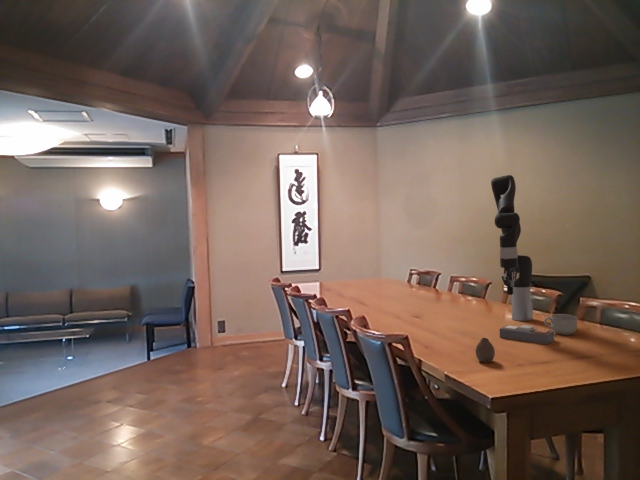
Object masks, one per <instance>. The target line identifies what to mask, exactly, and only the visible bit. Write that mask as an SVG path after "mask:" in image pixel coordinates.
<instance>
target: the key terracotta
mask: <svg viewBox="0 0 640 480" xmlns="http://www.w3.org/2000/svg"><path fill="white" fill-rule="evenodd" d="M537 329H538V328H537ZM549 331H550V330H546V329H538V330H536V331H534V333H541V334H547V333H549Z"/></svg>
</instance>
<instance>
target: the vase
mask: <svg viewBox="0 0 640 480" xmlns="http://www.w3.org/2000/svg"><path fill="white" fill-rule="evenodd" d="M475 356H476V358H477V360H478V361H479V362H481V363H485V364H489V363H491V362H492V361H493V360H494V359H495V357H496V351H495V347H494V345H493V344H492V343H491V342H490V340H489V338H488V337H482V338H480V341H479V342H478V343H477V345H476V346H475Z"/></svg>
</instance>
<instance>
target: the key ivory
mask: <svg viewBox="0 0 640 480" xmlns="http://www.w3.org/2000/svg"><path fill="white" fill-rule="evenodd" d="M505 326H506V327H505ZM505 326H503V327H504V329H511V330H516V329H518V328H519V327H520V326H518V325H517V326H516V325H515V326H514V325H509V324H508V326H507V325H505Z"/></svg>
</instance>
